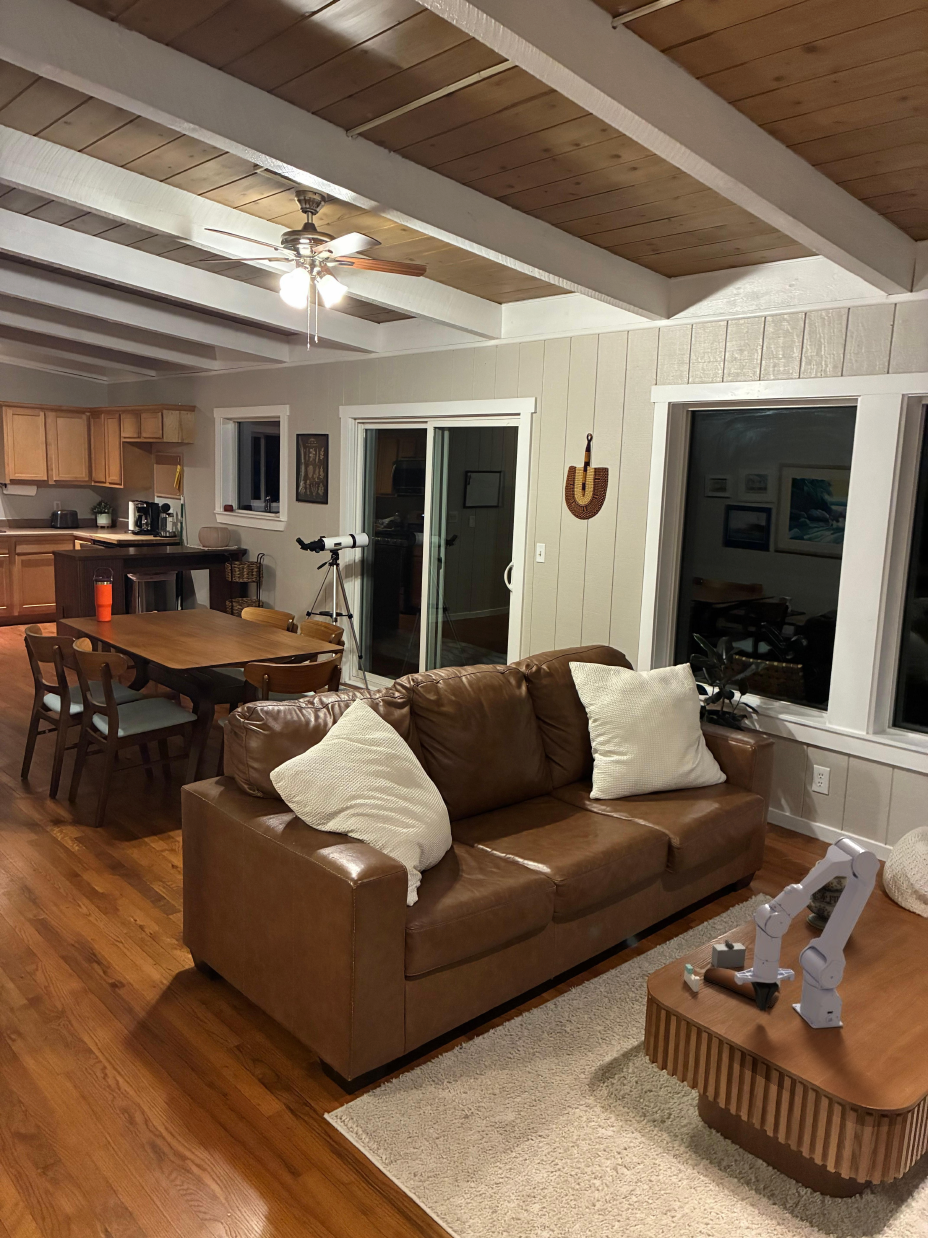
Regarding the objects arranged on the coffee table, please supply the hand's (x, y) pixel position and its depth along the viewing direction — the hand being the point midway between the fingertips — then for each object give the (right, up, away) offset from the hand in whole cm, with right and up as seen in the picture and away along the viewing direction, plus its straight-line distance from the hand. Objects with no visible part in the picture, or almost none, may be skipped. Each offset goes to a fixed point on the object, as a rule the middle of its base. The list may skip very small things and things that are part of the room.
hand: (761, 1008), depth 218 cm
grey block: (-1, +1, +25) cm, 25 cm away
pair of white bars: (-3, 0, +17) cm, 17 cm away
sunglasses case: (-1, -1, +14) cm, 14 cm away
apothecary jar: (+35, +3, +51) cm, 62 cm away
